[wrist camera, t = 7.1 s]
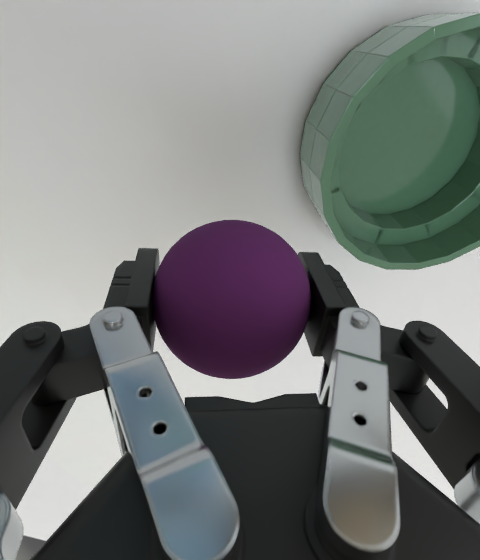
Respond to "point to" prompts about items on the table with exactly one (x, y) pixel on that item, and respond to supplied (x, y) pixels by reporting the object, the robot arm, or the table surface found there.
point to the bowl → (401, 144)
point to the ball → (231, 299)
